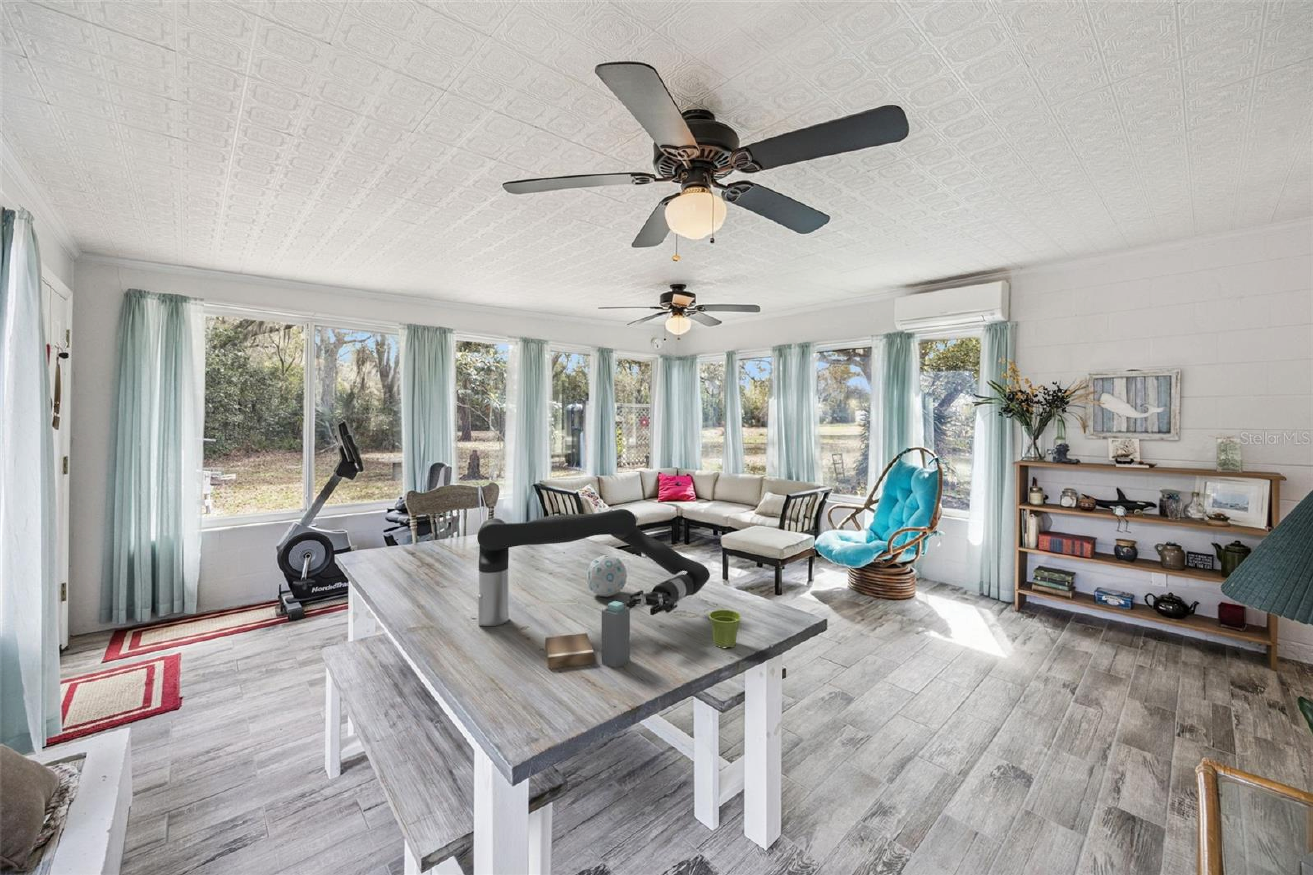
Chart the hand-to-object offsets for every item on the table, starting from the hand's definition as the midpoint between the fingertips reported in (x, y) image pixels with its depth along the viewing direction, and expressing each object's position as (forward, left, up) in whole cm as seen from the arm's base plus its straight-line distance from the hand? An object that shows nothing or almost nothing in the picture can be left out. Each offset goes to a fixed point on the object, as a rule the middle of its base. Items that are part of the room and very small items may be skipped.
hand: (639, 608), depth 148 cm
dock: (-20, 0, -11) cm, 23 cm away
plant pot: (+25, -5, -12) cm, 28 cm away
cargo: (-8, -7, +2) cm, 11 cm away
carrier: (-8, -7, -11) cm, 15 cm away
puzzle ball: (-1, +46, -12) cm, 48 cm away
